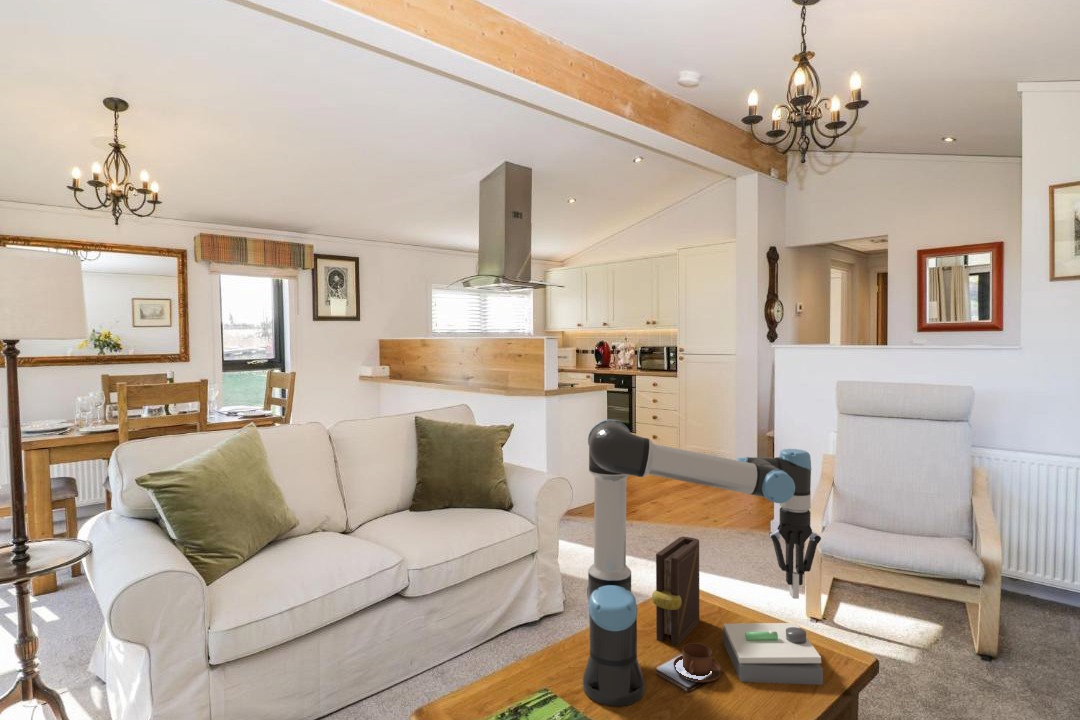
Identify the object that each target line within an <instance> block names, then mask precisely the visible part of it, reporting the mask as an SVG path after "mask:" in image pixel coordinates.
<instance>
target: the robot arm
mask: <svg viewBox="0 0 1080 720" xmlns="http://www.w3.org/2000/svg"><path fill="white" fill-rule="evenodd" d="M587 442H588V472H589V473H590V474H591V475H592V476H593V477H594V497H593V498H594V501H593V502H594V503H593V504H594V506H593V507H594V509H593V510H594V511H593V512H594V513H593V514H594V516H593V517H594V518H593V519H594V520H593V521H594V523H593V525H594V526H593V527H594V529H593V530H594V531H593V564H591V565H590V566H589V568H588V569H587V570H588V571H587V573H588V574H587V576H588V577H587V579H588V580H587V581H588V584H587V588H586V595H587V602H588V603H587V604H588V618H589V657H588V661H587V664H586V667H585V670H584V672H583V676H582V688H583V691H584V693H585V695H586V696H587V697H588V698H590V699H591V700H593V702H594V701H595V702H596V703H599V704H601V705H605V706H610V707H623V706H629V705H632V704H634V703H636V702H638V701H640V700H641V699H642V697H643V696H644V694H645V679H644V675H643V672H642V669H641V666H640V662H639V660H638V629H637V628H638V621H637V619H638V605H637V599H636V597H635V595H634V594H633V592H632V570H631V569H630V567H628V565H626V563H627V561H626V559H627V478H628V477H629V476H633V477H638V478H645V477H647V476H648V475H649V476H650V475H651V476H656V477H661V478H665V479H672V480H676V481H682V482H686V483H691V484H696V485H701V486H706V487H712V488H716V489H722V490H727V491H730V492H731V491H732V492H736V493H742V494H747V495H752V496H756V497H761V498H764V499H766V500H768V501H769V502H772V503H775V504H779V524H778V526H777V530H775V531H774V532H772V531H771V532H769V533H768V536H769V537H770V539H771V541H772V543H773V547H774V552H775V555H776V560H777V565H778V567H779V568H780V570H781V571H782V572H785V582H786V583H787V585H788V586H789V596H790V597H791V598H792V599H795V600H796V599H797V600H798V599H799V600H800V586H803V577H804V575H805V573H806V572H811V570H812V564H813V562H814V557H815V553H816V550H817V546H818V544H819V543H820V542H821V540H822V537H821V536H820V535H819V534H818V533H815V532H814V531H813V529H812V527H811V515H812V513H811V510H810V509H811V505H812V503H811V502H812V500H811V495H812V494H811V486H812V483H811V482H812V480H811V478H812V460H811V454H810V453H809V451H807V450H804V449H797V448H784V449H782V450H780V453H779V456H778V457H756V456H755V457H753V456H752V457H750V456H746V457H736V458H734V459H731V458H727V457H722V456H717V455H712V454H707V453H701V452H696V451H692V450H687V449H682V448H676V447H671V446H666V445H661V444H655V443H653V441H652V440H651V438H647V437H642V436H639V435H636V434H635V433H634V434H633V433H631V431H630V429H629V427H628V426H626V425H625V424H624V423H623V422H620V421H618V420H615V419H604V420H602V421H599V422H598V423H596V424H595V425H594V426H593V427H592V428H591V430H590V431H589V434H588V438H587ZM781 537H782V538H783V540H784V543H785V557H784V554H783V549H782V546H781V542H780V540H781ZM808 539H809V540H808ZM807 540H808V543H807V547H806V550H805V554H804V549H805V543H806V541H807ZM794 548H795V569H794ZM804 555H805V556H804Z"/></svg>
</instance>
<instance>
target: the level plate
mask: <svg viewBox="0 0 1080 720" xmlns="http://www.w3.org/2000/svg"><path fill="white" fill-rule="evenodd" d="M723 627H724V631H725V633H726V635H727V637H728V639H729V641H730V644H731V646H732V648H733V650H734V652H735V655H736V657H737V659H738V661H739V663H819V664H822V656H821V655H820V653H819V652H818V651H817V649H816V648H815V647H814V646H813V644H812V643H811V641H810V640H809V639H808V637H807V631H806V630H804V629H803V628H801V627H800V626H799V625H798V623H797V622H765V623H764V622H759V623H755V622H754V623H752V622H751V623H750V622H749V623H748V622H747V623H746V622H744V623H735V622H734V623H723Z"/></svg>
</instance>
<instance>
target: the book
mask: <svg viewBox="0 0 1080 720" xmlns="http://www.w3.org/2000/svg"><path fill="white" fill-rule="evenodd" d="M655 575H656V576H655V580H656V581H655V588H656V589H655V590H654V591H652V595H651V600H652V603H653V604H654V605H655V607H656V608H655V609H656V610H655V611H656V613H655V616H656V617H655V618H656V628H655V629H656V631H655V633H656V641H658V642H660V643H661V642H664V640H666V638H667V637H669V635H670V637H671V638H670V639H671V646H674V647H678V646H679V645H680V644H681V643H682V642H683V641H684V640H685V638H686V637H688V635H689V634H690V633H691V632H692V631H693V630H694V629H695V628H696V627H697V625H698V624H699V623H700V539H698V538H695V537H689V536H680V537H678V538H676V539H675V540H674V541H672V542H670V543H669V544H668V545H666V547H664V548H662V549H661V550H659V551H658V552H657V553H656V554H655Z"/></svg>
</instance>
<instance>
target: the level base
mask: <svg viewBox="0 0 1080 720" xmlns="http://www.w3.org/2000/svg"><path fill="white" fill-rule="evenodd" d="M722 643H723V645H724V647H725V648H726V652H727V653H728V656H729V659H730V660H731V663H732V665H733V668H734V670H735V672H736V674H737V677H738V679H739V682H742V683H762V684H763V683H768V684H769V683H770V684H787V685H788V684H789V685H790V684H791V685H792V684H793V685H815V686H816V685H817V686H818V685H819V686H822V685H823V686H824V669H823V668H824V667H822V666H821V665H820V664H821V663H739V661H738V659H737V657H736V655H735V652H734V650H733V648H732V646H731V644H730V641H729V639H728V637H727V635H726V633H725V631H724V626H722Z"/></svg>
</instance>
